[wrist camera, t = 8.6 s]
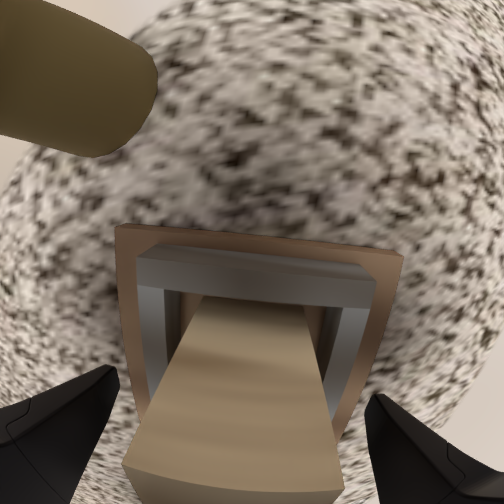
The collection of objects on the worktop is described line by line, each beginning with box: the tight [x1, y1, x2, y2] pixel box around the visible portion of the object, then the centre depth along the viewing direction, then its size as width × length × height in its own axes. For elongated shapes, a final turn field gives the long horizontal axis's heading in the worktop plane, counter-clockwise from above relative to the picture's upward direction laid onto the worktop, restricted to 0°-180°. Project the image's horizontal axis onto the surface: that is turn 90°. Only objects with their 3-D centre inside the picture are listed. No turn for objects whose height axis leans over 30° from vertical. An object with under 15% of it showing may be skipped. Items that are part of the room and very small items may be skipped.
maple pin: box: [121, 296, 345, 504], centre depth 8 cm, size 4×4×8 cm
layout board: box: [115, 223, 404, 445], centre depth 10 cm, size 18×12×7 cm, turn 175°
